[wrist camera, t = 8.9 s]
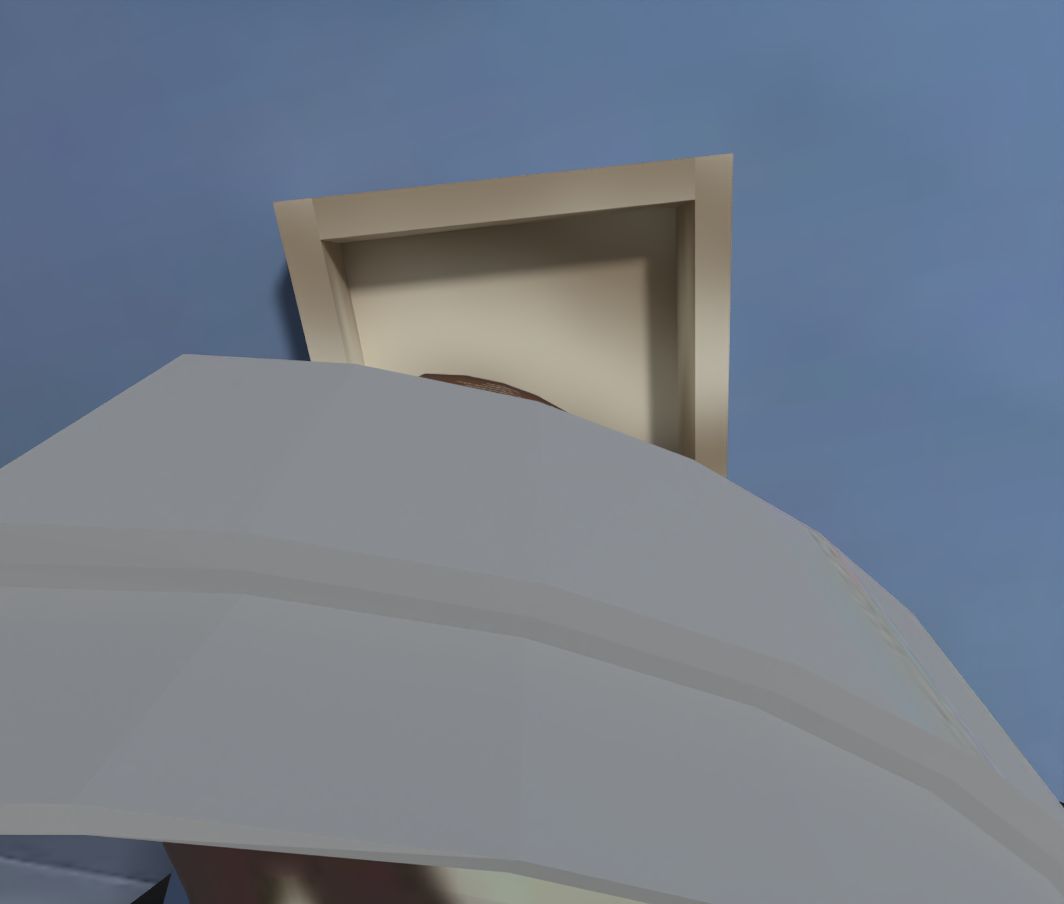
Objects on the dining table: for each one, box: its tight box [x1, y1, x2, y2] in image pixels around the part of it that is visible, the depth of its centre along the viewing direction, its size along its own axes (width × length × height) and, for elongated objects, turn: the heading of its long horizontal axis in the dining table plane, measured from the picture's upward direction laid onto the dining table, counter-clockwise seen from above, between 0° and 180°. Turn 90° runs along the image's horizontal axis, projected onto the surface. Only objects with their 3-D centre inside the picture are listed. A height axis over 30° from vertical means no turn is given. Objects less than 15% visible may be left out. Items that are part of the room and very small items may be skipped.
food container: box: [0, 354, 1064, 904], centre depth 8 cm, size 12×6×10 cm, turn 1°
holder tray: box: [273, 153, 733, 479], centre depth 18 cm, size 18×12×2 cm, turn 6°
